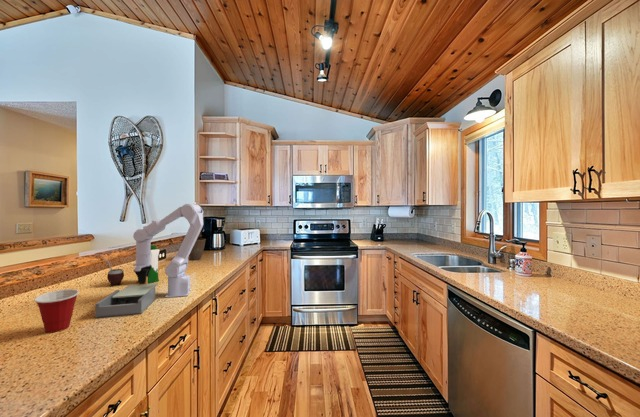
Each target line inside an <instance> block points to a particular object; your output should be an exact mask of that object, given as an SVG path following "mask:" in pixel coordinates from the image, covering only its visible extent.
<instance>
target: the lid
mask: <svg viewBox="0 0 640 417" xmlns="http://www.w3.org/2000/svg"><path fill="white" fill-rule="evenodd" d="M147 278H148V277H146V282H145V284H139V283H137V284H129V285H127V286H125V287H124V288H123V289H121V290H120V292H118V293H117V294H115V295H114V296H112V298H122V297H135V296H144V295H145V294H146V293H147V292H148V291H149V290H150V289H151V288H155V289H156V287H157V286H158V285H159V282H154V283H150V284H147Z"/></svg>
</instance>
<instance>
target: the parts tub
mask: <svg viewBox="0 0 640 417" xmlns="http://www.w3.org/2000/svg"><path fill="white" fill-rule="evenodd" d="M120 291H121V290H120V289H116V290H114V291H113V292H111V293H110V294H108V295H107V296H105V297H104V298H102V299H100V300H99V301H98V302H96V303H95V304H94V312H95V313H94V314H95V316H94V318H95V319H100V318H112V317H124V316H133V315H135V316H136V315H142V314H143V313H144V312H145V311H146V310H147V309H148V308H149V307H150V305H152V303H154V301H156V287H155V288H151V289H150V290H149V291H148V292H147V293H146V294H145V295H144V296H135V297H122V298H112V296H114V295H115V294H117V293H118V292H120Z"/></svg>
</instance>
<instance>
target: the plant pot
mask: <svg viewBox="0 0 640 417" xmlns="http://www.w3.org/2000/svg"><path fill="white" fill-rule="evenodd" d="M206 240H207V239H206V238H197V240H196V242H195V244H194V246H193V248H192V250H191V252H190V254H189V256H188V259H189V260H190V261H199V260H201V259H202V256H203V253H204V251H205V250H204V249H205V245H206Z"/></svg>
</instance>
